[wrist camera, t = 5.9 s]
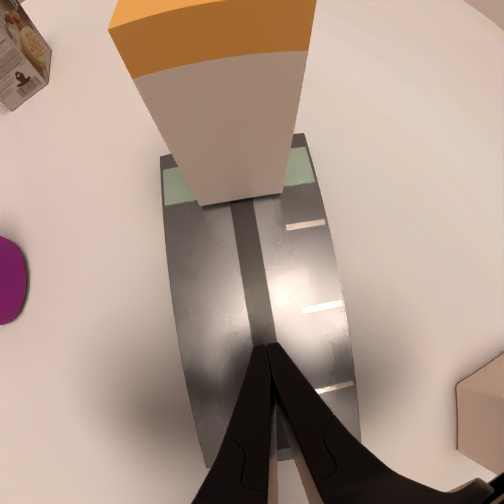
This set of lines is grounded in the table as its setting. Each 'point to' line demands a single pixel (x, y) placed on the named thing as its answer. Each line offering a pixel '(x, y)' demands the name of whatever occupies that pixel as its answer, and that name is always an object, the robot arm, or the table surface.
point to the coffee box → (20, 56)
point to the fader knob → (220, 85)
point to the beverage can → (11, 280)
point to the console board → (256, 295)
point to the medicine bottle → (483, 416)
